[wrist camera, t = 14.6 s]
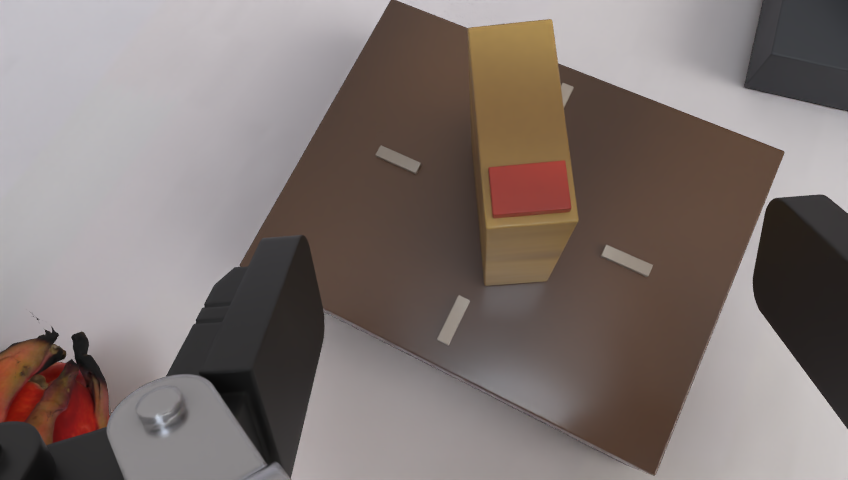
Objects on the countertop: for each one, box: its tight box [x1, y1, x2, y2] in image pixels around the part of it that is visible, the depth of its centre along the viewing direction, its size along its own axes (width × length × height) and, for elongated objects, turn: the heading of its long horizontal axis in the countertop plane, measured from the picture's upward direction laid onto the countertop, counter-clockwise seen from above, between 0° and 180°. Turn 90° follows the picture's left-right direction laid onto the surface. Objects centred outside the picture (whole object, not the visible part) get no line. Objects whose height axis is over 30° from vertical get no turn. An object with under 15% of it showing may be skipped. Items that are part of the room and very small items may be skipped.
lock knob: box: [467, 19, 579, 286], centre depth 16 cm, size 4×2×6 cm, turn 4°
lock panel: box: [240, 0, 784, 475], centre depth 20 cm, size 13×10×3 cm
